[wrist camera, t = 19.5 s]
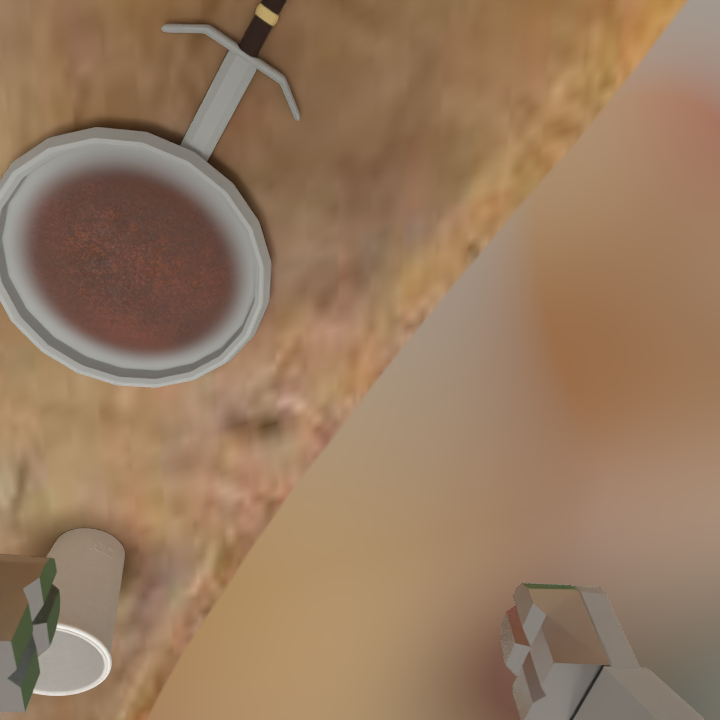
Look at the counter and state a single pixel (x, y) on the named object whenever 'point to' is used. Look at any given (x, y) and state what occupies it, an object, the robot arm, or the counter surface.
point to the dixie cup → (82, 612)
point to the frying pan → (140, 239)
